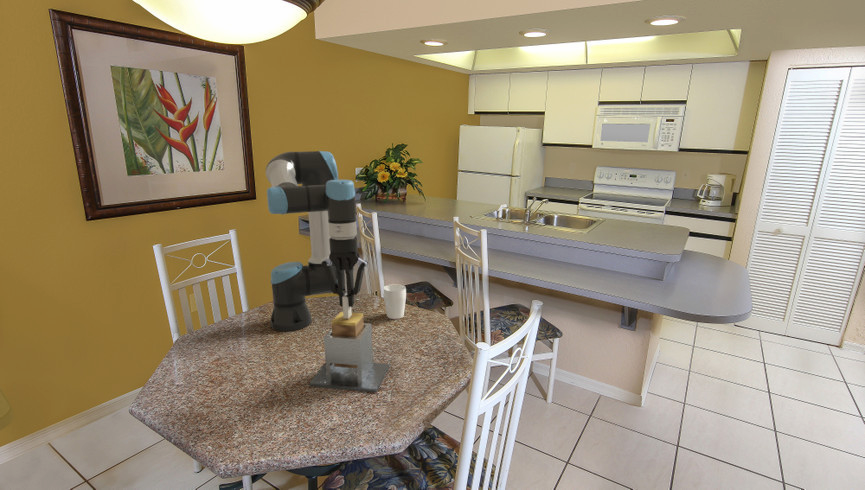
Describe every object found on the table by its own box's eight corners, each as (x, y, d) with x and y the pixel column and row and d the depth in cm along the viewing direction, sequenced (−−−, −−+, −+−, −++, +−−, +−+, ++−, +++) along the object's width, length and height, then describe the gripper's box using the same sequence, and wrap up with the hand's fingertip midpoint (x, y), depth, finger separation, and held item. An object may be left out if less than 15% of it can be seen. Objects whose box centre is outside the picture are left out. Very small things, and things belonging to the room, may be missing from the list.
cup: (403, 321, 166) (402, 292, 164) (381, 319, 168) (380, 290, 165) (409, 312, 175) (408, 284, 172) (388, 310, 177) (387, 283, 174)
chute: (309, 386, 123) (305, 338, 119) (328, 362, 136) (325, 318, 133) (376, 392, 120) (374, 343, 116) (389, 367, 133) (388, 322, 129)
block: (334, 366, 124) (331, 321, 121) (343, 354, 131) (340, 311, 127) (357, 368, 123) (355, 323, 119) (365, 356, 129) (363, 313, 126)
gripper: (314, 239, 115) (320, 320, 121) (361, 240, 113) (365, 323, 119) (326, 233, 122) (331, 310, 128) (370, 234, 120) (373, 312, 126)
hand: (347, 316), depth 123 cm, fingers closed
